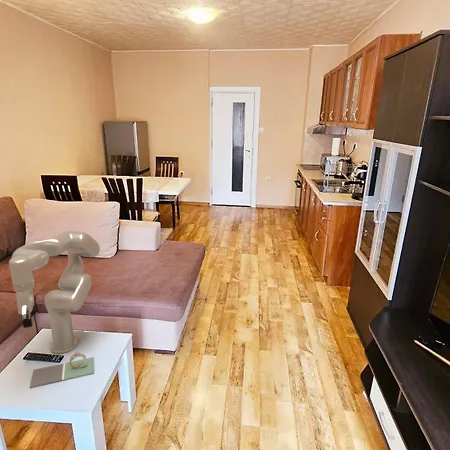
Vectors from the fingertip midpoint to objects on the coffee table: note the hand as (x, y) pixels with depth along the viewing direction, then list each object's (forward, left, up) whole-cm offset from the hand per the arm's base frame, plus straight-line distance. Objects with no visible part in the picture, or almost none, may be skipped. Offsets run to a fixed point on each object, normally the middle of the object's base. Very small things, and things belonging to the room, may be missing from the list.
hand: (29, 320), depth 141 cm
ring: (+3, +17, -28) cm, 33 cm away
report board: (+3, +11, -28) cm, 30 cm away
